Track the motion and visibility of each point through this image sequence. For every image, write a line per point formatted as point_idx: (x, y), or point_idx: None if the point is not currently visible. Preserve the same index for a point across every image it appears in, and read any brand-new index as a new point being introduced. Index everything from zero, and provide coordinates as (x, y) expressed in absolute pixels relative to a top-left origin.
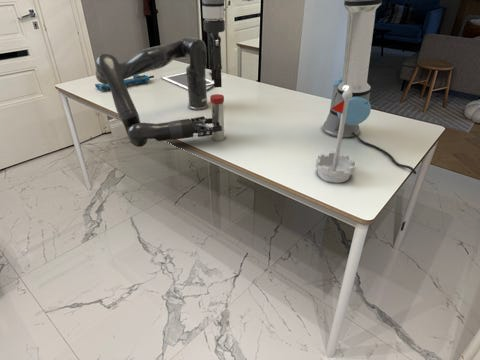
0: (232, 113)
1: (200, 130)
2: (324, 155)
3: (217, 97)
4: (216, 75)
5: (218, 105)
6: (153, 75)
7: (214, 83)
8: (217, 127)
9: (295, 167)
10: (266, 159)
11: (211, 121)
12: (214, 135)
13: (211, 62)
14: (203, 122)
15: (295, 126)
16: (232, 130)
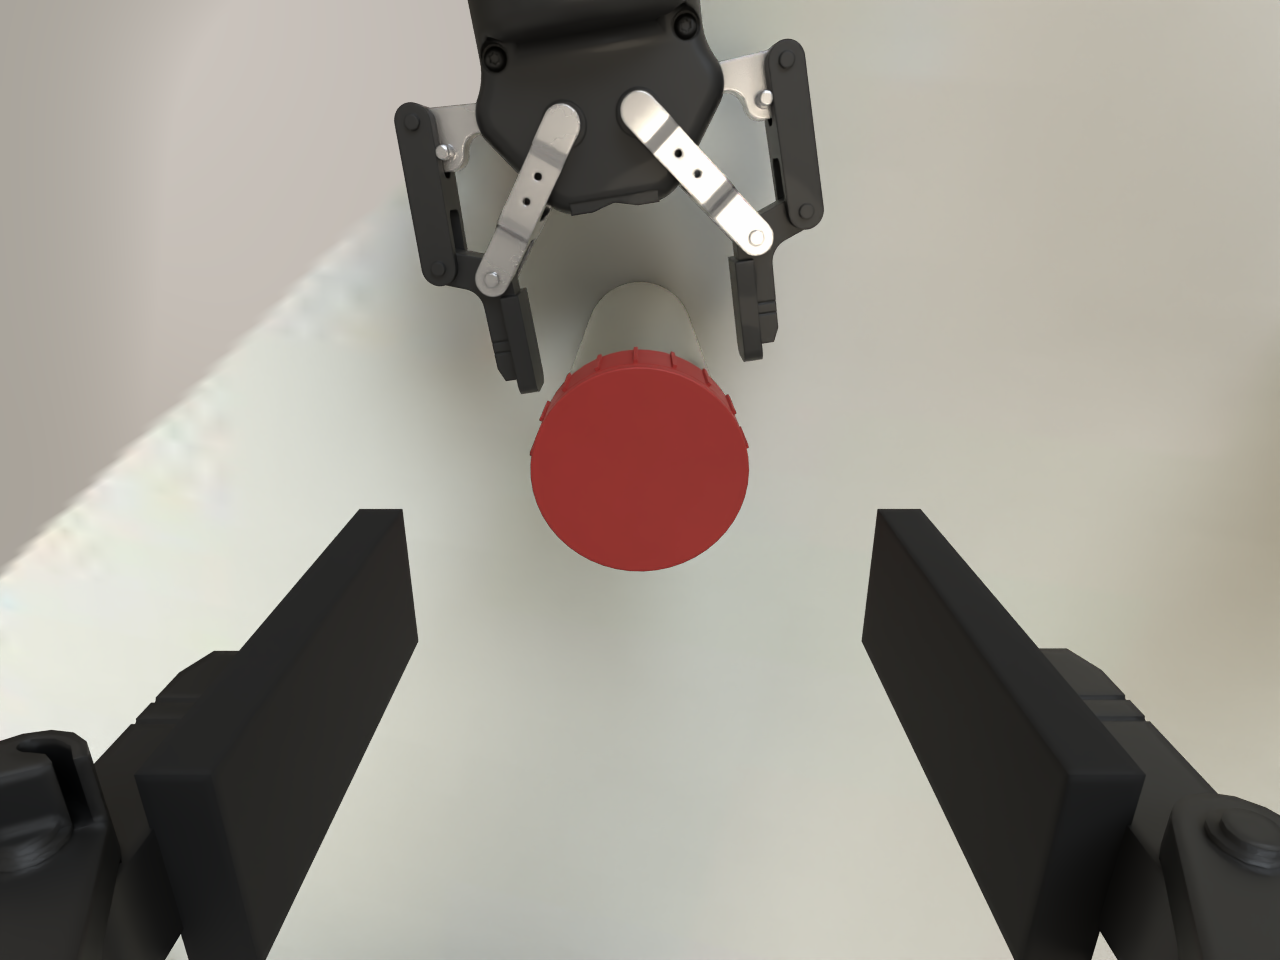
0: (1150, 531)
1: (416, 143)
2: None
3: (590, 475)
4: (136, 725)
5: None
6: None
7: (329, 550)
8: (511, 347)
9: None
10: (238, 625)
11: (736, 301)
12: (604, 299)
13: (1177, 807)
14: (655, 201)
15: (728, 903)
16: (771, 475)
